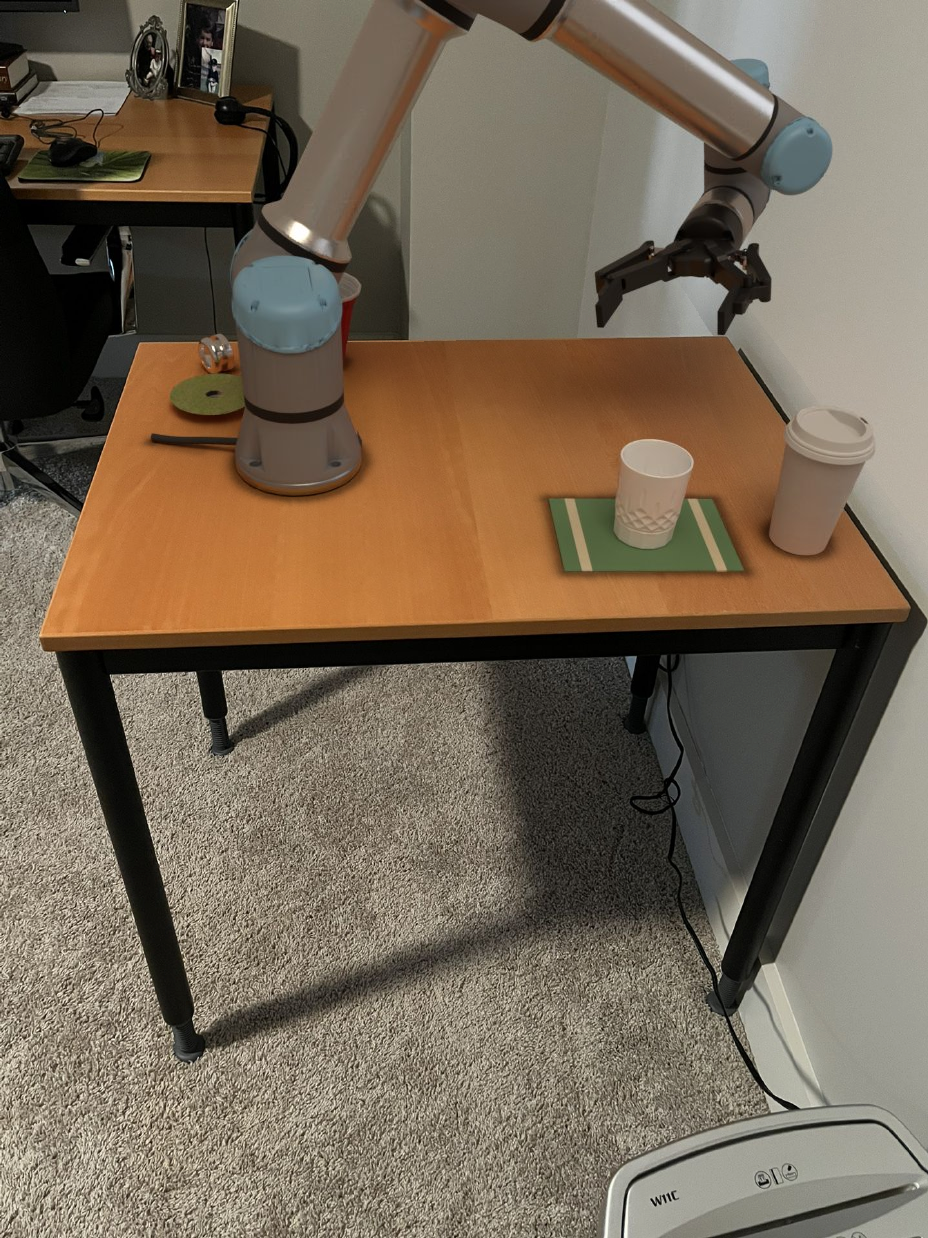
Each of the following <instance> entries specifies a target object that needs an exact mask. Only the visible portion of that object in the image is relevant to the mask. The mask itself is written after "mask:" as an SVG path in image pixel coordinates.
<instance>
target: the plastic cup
mask: <svg viewBox="0 0 928 1238" xmlns="http://www.w3.org/2000/svg"><path fill="white" fill-rule="evenodd" d="M338 287H339V293H340V296H341V301H342V316H341V336H342V359H343V364H345V363H344V362H345V359H346V352H347V344H348V342H349V341H348V340H349V337H350V336H349V335H350V328H351V322H352V316H353V310H354V306H355V303H356V299H357V297H358V296H359V295H360V293H361V289H362V284H361V282H359V280H358V279H357V277H354V276H352V275H350V274H349V273H347V272H344V274H343V276H342V278H341V280H340V282H339V283H338Z"/></svg>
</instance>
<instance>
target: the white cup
mask: <svg viewBox="0 0 928 1238" xmlns="http://www.w3.org/2000/svg"><path fill="white" fill-rule="evenodd" d="M619 454H620V455H619V464H618V473H617V480H616V481H617V483H616V491H615V499H616V501H615V522H614V533H615V534H616V536H617V538H618V539H619V540H621V541H622V542H624V543H625V544H627V545H629V546H632V547H635V548H639V549H656V548H660V547H663V546H665V545H666V544H667V543H668V542H669V541H670V540H671V539H672V536H673V532H674V528H675V525H676V521H677V519H678V517H679V514H680V511H681V507H682V504H683V501H684V499H686V498H685V497H686V494H687V490H688V487H689V483H690V479H691V475H692V472H693V468H694V465H695V463H694V458H693V456H692V455H691V453H690V452H689V451H688V450H686V448H683V447H682V446H680V445H679V444H676V443H674V442H671V441H667V440H662V439H654V438H647V439H646V438H644V439H638V440H634V441H631V442H629V443H627V444H626V445H624V446H623V447H622V449H621V451H620V453H619Z"/></svg>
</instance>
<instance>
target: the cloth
mask: <svg viewBox="0 0 928 1238" xmlns="http://www.w3.org/2000/svg"><path fill="white" fill-rule="evenodd" d="M615 501H616V498H548V504H549V510H550V513H551V518H552V521H553V522H552V523H553V527H554V532H555V537H556V541H557V545H558V549H559V554H560V559H561V563H562V568H563V572H564V573H675V572H676V573H698V572H699V573H705V572H706V573H712V572H713V573H715V572H716V573H717V572H719V573H723V572H724V573H725V572H726V573H727V572H729V573H730V572H732V573H733V572H734V573H736V572H737V573H739V572H742V573H743V572H744V571H745V570H744V567H743V564H742V562H741V560H740V558H739V555H738V554H737V551H736V549H735V547H734V544H733V542H732V540H731V537H730V535H729V533H728V531H727V529H726V526H725V525H724V522H723V520H722V517H721V515H720V513H719V510H718V509H717V506H716V504H715V501H714V499H713V498H684V501H683V504H682V507H681V511H680V514H679V517H678V519H677V521H676V525H675V528H674V532H673V536H672V539H671V540H670V541H669V542H668V543H667V544H666V545H665V546H663V547H660V548H656V549H639V548H635V547H632V546H629V545H627V544H625V543H624V542H622V541H621V540H619V539H618V538H617V536H616V534H615V533H614V522H615Z"/></svg>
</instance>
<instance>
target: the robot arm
mask: <svg viewBox="0 0 928 1238" xmlns="http://www.w3.org/2000/svg"><path fill="white" fill-rule="evenodd" d="M478 15H480V16H482V17H484V18H487V19H489V20H490V21H492V22H495V23H497V24H498V25H501V26H503V27H505V28H507V29H509V30H510V31H512V32H514V33H515V34H517V35H519V36H520V37H522V38H523V39H525V41H528V42H530V43H536V42H539V41H542V40H548V41H549V42H551V43H552V44H553V45H555V46H556V47H558V48H560V49H561V50H563V51H564V52H566V53H568V54H569V55H570V56H572V57H573V58H575V59H577V61H579V62H581V63H582V64H584V65H586V66H587V67H589V68H590V69H591V70H593V71H595V72H596V73H598V74H599V75H601V77H604V78H605V79H607V80H608V81H610V82H611V83H612V84H614V85H616V86H618V87H619V88H620V89H622V90H624V91H625V92H626V93H628V94H630V95H632V96H633V97H634V98H636V99H638V100H639V101H640V102H642V103H643V104H645V105H646V106H648V107H649V108H651V109H652V110H654V111H656V112H658V113H659V114H660V115H661V116H663V117H664V118H666V119H668V120H669V121H671V123H672V122H673V123H674V124H675V125H677V126H678V127H680V128H681V129H683V130H684V131H686V132H688V133H690V134H691V135H692V136H694V137H695V138H697V139H698V140H700V141H701V142H703V193H702V194H701V196H700V198H699V199H698V200H697V202H696V203H695V204H694V206H693V207H692V208H691V210H690V211H689V213H688V215H687V216H686V218H685V219H684V220H683V222H682V224H681V225H680V227H679V228H678V229H677V232H676V234H675V236H674V239H673V241H672V242H671V243H669V244H667V245H666V246H665V247H657V246H655V241H654V240H652V239H650V240H646V241H644V242H643V243H642V244H640V246H639V247H638V248H636V249H635V250H632V251H631V252H629V253H627V254H625V255H624V256H622V257H620V258H618V259H616V260H615V261H612V262H611V263H609V264H607V265H605V266H603V267H602V268H600V269H598V270H596V271H595V272H594V282H595V291H596V294H597V299H598V300H597V302H596V303H595V304H594V309H595V319H596V328H599V329H603V328H604V329H605V327H606V325H607V323H608V322H609V320H611V318H612V317H613V315H614V314H615V312H616V310H617V309H618V307H620V305H621V303H622V302H623V301H624V297H623V295H626V294H629V293H632V292H633V291H637V290H639V289H642V288H644V287H647V286H649V285H653V284H655V283H657V282H660V281H662V282H664V283H668V282H670V281H673V280H675V279H678V278H688V277H693V278H700V279H701V278H702V279H704V278H706V279H708V278H709V279H710V280H711V281H712V282H713V283H714V284H715V285H719V284H720V285H721V286H722V287H723V288H724V289H725V290H727V294H726V295H725V296H724V299H723V301H722V303H721V304H720V306H719V308H718V310H717V314H716V317H717V318H716V320H717V321H716V322H717V323H716V324H717V328H716V329H717V336H726V333H727V332H728V330H729V328H730V326H731V324H733V323H732V322H733V321H734V319H735V318H736V315H737V316H742V315H744V314H746V313H747V310H748V308H749V306H750V305H751V304H752V303H754V301H755V300H759V302H760V303H769V302H771V301H772V279H773V278H772V277H771V275H770V273H769V271H768V269H767V267H766V265H765V264H764V262H763V260H762V258H761V256H760V243H757V242H751V243H749V244H748V246H747V248H745V247H744V248H742V246H743V245H744V242H745V241H746V239H747V237H748V236H749V235H750V232H751V230H752V229H753V227H754V225H755V224H756V222H757V220H758V219H759V218H760V216H761V215H762V214H763V212H764V211H765V210H766V208H767V204H768V203H769V202H770V198H771V194H772V191H775V192H777V193H779V194H780V195H784V196H798V195H801V194H804V193H806V192H808V191H809V190H811V189H812V188H814V187H815V186H816V185H817V184H818V183H820V181H821V179H822V178H823V177H824V175H825V174H826V173H827V171H828V169H829V168H830V164H831V161H832V157H833V151H834V150H833V142H832V138H831V136H830V134H829V132H828V131H827V130H826V129H825V128H824V127H823V126H821V125H820V123H819V122H817V121H818V120H815V119H814V118H813V117H811V116H807V115H805V114H804V113H802V112H801V111H799V110H798V109H797V108H795V107H793V106H792V105H791V104H789V103H788V102H787V101H785V100H783V99H782V98H781V97H780V96H778V95H777V94H774V93H773V92H772V90H770V88H771V82H770V76H769V75H770V74H769V67H768V65H767V63H766V62H764V61H763V60H761V59H756V58H737V59H731V60H729V59H728V58H726V57H725V56H723V55H722V54H721V53H720V52H718V51H716V50H715V49H713V48H712V47H711V46H709V45H708V44H707V43H705V42H704V41H702V40H701V39H700V38H699V37H697V36H696V35H694V34H693V33H692V32H690V31H689V30H687V29H686V28H685V27H683V26H682V25H680V24H679V23H678V22H677V21H675V20H674V19H673V18H671V17H670V16H668V15H667V14H666V13H664V12H662V11H661V10H660V9H659V8H658V7H655V5H653V4H652V3H650V2H649V1H647V0H373V2H372V4H371V6H370V8H369V10H368V12H367V15H366V16H365V19H364V21H363V23H362V25H361V28H360V30H359V32H358V34H357V36H356V39H355V40H354V42H353V45H352V47H351V49H350V51H349V54H348V56H347V58H346V60H345V62H344V64H343V66H342V69H341V71H340V73H339V75H338V77H337V80H336V82H335V83H334V85H333V88H332V90H331V92H330V95H329V96H328V99H327V101H326V102H325V105H324V108H323V110H322V112H321V114H320V116H319V118H318V121H317V122H316V124H315V126H314V128H313V131H312V133H311V135H310V138H309V139H308V142H307V143H306V145H305V148H304V151H303V153H302V154H301V157H300V159H299V160H298V161H299V162H298V163H297V165H296V168H295V170H294V172H293V174H292V175H291V178H290V180H289V183H288V185H287V186H286V189H285V191H284V193H283V196H282V198H281V199H279V200H277V201H272V202H270V203H265V204H264V205H263V207H262V209H261V211H260V213H259V215H258V217H257V219H256V221H255V223H254V226H253V228H252V229H250V231H248V232H247V233H246V234H245V235H244V236H243V237H242V238H241V239H240V241H239V242H238V244H237V246H236V249H235V250H234V252H233V256H232V258H231V263H230V268H229V281H230V288H231V292H232V295H231V311H232V312H231V313H232V317H233V319H234V322H235V332H236V340H237V341H236V342H237V349H238V358H239V366H240V377H242V385H243V393H244V402H245V406H244V410H243V415H242V419H241V423H240V428H239V431H238V435H237V437H229V436H228V437H225V436H175V435H166V434H161V433H151V435H150V441H152V442H156V443H163V444H169V445H170V444H172V445H211V446H213V445H214V446H215V445H216V446H235V448H234V449H235V451H234V458H235V466H236V471H237V473H238V474H239V476H240V478H242V479H243V481H244V482H245V483H247V484H249V485H250V486H252V487H253V488H256V489H257V490H260V491H263V492H267V493H271V494H276V495H281V496H308V495H315V494H321V493H324V492H329V491H331V490H335V489H337V488H339V487H342V485H343V486H344V485H345V484H346V483H348V482H349V481H351V480H352V479H353V478H354V477H355V476H356V475H357V473H358V472H359V471H360V469H361V465H362V448H363V439H362V438H361V436H360V433H359V431H358V430H356V429H355V426H354V424H353V422H352V418H351V417H350V415H349V411H348V409H347V407H346V404H345V384H344V382H345V381H344V363H343V359H342V336H341V316H342V301H341V296H340V293H339V287H338V283H339V282H340V280H341V278H342V276H343V274H344V273H346V272H345V271H346V269H347V268H348V266H349V263H351V260H352V256H353V255H352V251H351V248H350V245H349V242H348V237H349V235H350V234H351V232H352V229H353V227H354V226H355V224H356V221H357V219H358V218H359V215H360V213H361V212H362V210H363V208H364V206H365V204H366V202H367V200H368V198H369V196H370V194H371V192H372V190H373V188H374V186H375V185H376V182H377V181H378V179H379V177H380V175H381V172H382V170H383V169H384V166H385V165H386V163H387V161H388V159H389V157H390V155H391V153H392V151H393V150H394V147H395V145H396V144H397V141H398V139H399V137H400V135H401V133H402V131H403V130H404V127H405V125H406V123H407V122H408V120H409V117H410V116H411V113H412V112H413V110H414V109H415V106H416V104H417V102H418V100H419V98H420V97H421V94H422V92H423V90H424V89H425V86H426V84H427V83H428V81H429V79H430V77H431V75H432V72H433V71H434V68H435V66H436V64H437V63H438V61H439V59H440V57H441V55H442V52H443V50H444V49H445V47H446V45H447V43H448V42H450V41H452V40H453V39H456V38H460V37H463V36H466V35H468V34H469V32H470V30H471V28H472V26H473V24H474V23H475V20H476V18H477V17H478ZM741 248H742V249H741ZM735 263H738V264H739V265H740V266H742V267H741V268H739V267H738V266H737V265H736V264H735ZM745 272H746V273H745Z"/></svg>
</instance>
